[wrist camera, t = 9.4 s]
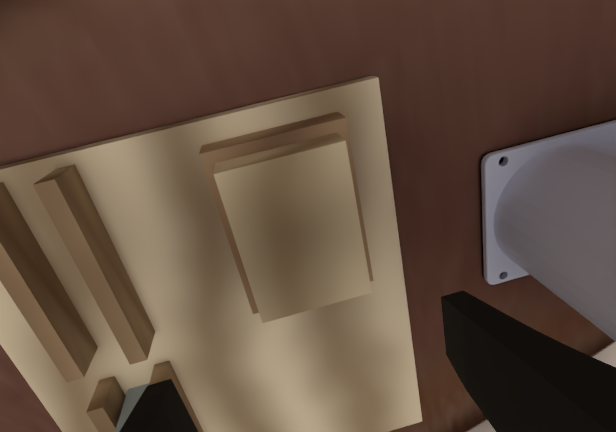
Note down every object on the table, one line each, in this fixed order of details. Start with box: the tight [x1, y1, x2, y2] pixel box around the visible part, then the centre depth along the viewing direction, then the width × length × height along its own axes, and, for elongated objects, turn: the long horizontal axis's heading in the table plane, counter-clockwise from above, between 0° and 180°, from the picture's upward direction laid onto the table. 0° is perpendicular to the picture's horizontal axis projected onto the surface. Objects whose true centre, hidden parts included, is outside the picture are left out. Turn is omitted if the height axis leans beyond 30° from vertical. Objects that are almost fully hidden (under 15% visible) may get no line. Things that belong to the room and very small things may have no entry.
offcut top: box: [213, 133, 372, 323], centre depth 17 cm, size 5×7×2 cm
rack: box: [0, 76, 422, 432], centre depth 20 cm, size 20×22×3 cm
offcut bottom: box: [199, 112, 374, 314], centre depth 18 cm, size 6×8×2 cm
